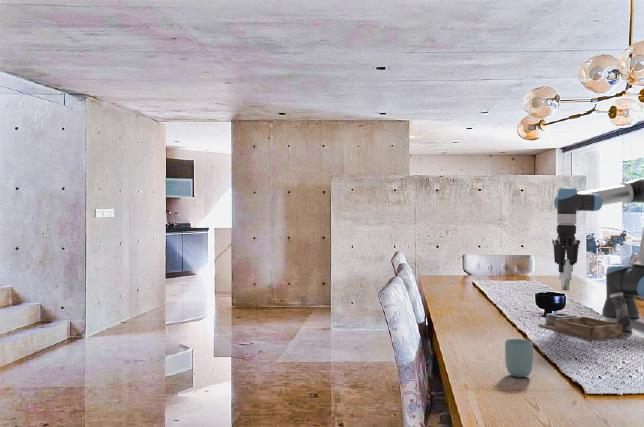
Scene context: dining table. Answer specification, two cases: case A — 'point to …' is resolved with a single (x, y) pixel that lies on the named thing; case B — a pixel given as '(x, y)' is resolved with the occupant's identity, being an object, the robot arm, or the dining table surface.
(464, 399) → the dining table surface
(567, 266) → the rod
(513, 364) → the cup
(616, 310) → the stone block
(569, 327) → the board
